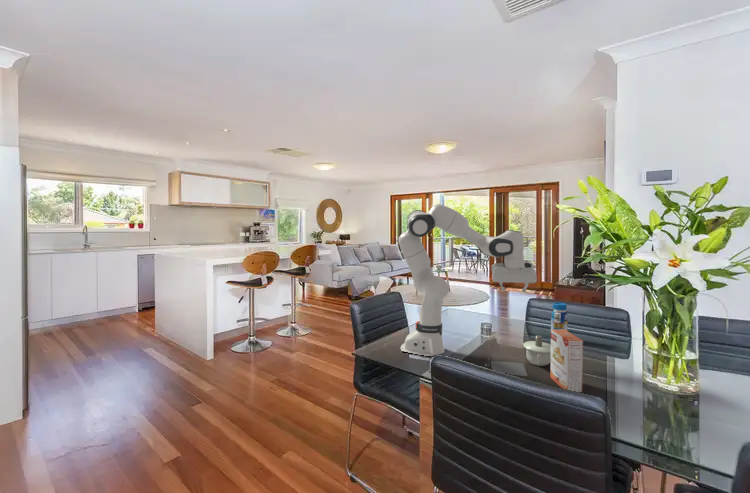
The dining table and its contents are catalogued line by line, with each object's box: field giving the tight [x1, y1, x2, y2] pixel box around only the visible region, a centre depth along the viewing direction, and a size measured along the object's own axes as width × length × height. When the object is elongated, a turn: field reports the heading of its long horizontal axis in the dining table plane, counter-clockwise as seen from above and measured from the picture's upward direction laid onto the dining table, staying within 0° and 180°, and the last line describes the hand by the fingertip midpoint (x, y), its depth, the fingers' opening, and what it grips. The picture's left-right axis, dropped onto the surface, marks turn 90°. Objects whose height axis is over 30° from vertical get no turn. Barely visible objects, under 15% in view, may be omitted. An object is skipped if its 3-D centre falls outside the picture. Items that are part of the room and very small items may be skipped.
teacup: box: [525, 349, 551, 367], centre depth 160 cm, size 14×11×8 cm
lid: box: [522, 334, 551, 353], centre depth 160 cm, size 13×13×5 cm
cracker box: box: [549, 329, 584, 393], centre depth 138 cm, size 14×6×21 cm, turn 178°
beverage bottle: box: [550, 302, 569, 332], centre depth 194 cm, size 8×8×20 cm
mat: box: [490, 360, 528, 377], centre depth 156 cm, size 14×14×1 cm
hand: (513, 291), depth 172 cm, fingers open, 8 cm apart
